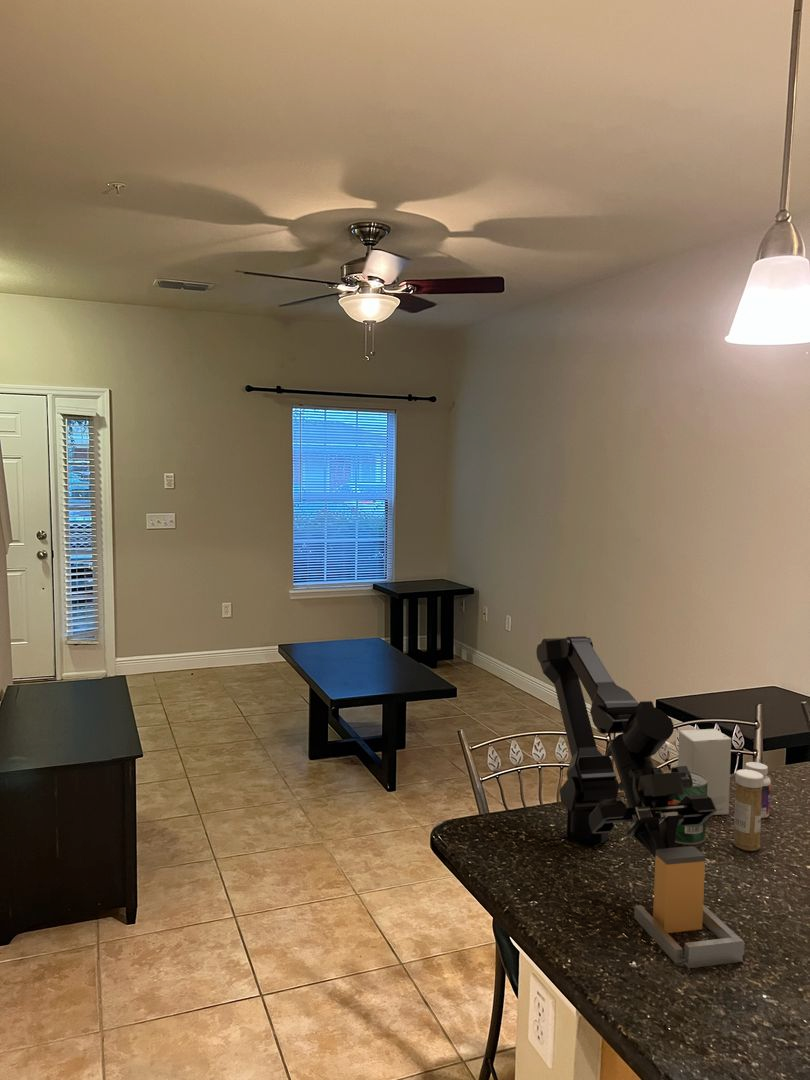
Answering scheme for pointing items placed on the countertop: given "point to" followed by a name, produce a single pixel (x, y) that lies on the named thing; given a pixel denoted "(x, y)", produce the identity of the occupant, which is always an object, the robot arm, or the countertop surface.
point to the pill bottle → (765, 788)
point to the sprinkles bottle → (748, 809)
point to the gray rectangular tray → (698, 952)
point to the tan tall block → (679, 888)
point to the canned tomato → (696, 833)
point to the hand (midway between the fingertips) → (671, 871)
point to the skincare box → (708, 762)
